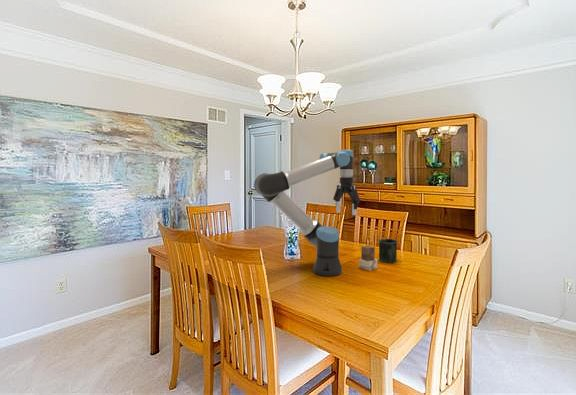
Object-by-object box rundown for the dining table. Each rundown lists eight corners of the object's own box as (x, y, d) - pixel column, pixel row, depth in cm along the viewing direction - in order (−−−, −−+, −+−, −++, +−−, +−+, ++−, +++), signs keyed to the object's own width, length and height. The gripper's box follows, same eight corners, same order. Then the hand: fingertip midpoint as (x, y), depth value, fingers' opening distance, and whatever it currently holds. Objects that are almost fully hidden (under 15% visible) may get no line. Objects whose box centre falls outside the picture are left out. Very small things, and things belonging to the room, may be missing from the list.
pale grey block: (369, 271, 173) (369, 261, 173) (359, 268, 178) (359, 259, 178) (377, 268, 178) (377, 259, 177) (366, 265, 183) (366, 256, 183)
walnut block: (367, 261, 174) (367, 248, 173) (361, 259, 178) (361, 246, 178) (374, 259, 176) (374, 247, 176) (368, 257, 181) (368, 245, 180)
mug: (375, 261, 190) (376, 241, 189) (382, 255, 203) (383, 236, 202) (394, 264, 185) (395, 243, 184) (400, 258, 197) (401, 238, 196)
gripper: (367, 177, 176) (366, 215, 178) (337, 176, 197) (336, 210, 199) (357, 177, 172) (356, 216, 174) (327, 176, 193) (327, 211, 195)
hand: (346, 213), depth 187 cm, fingers open, 13 cm apart
